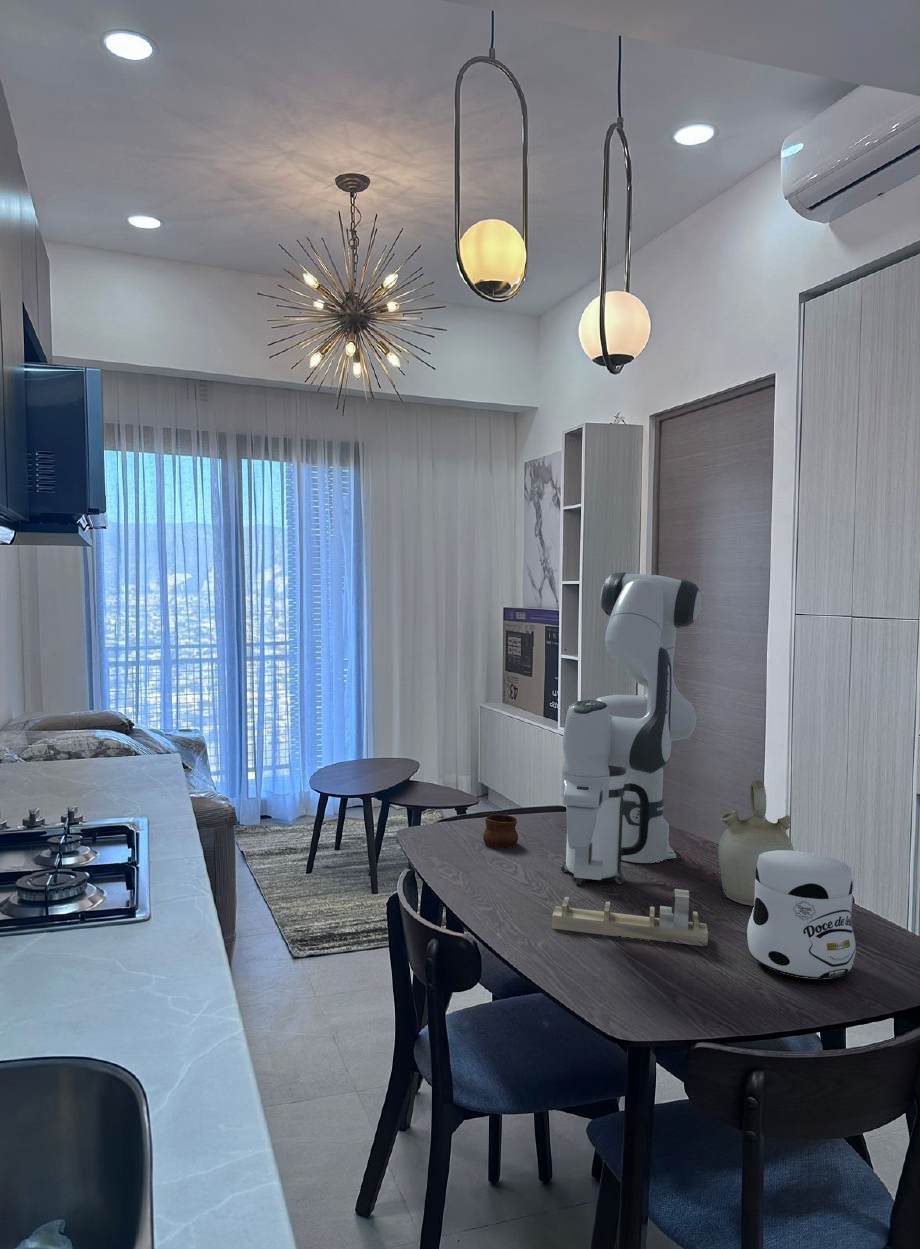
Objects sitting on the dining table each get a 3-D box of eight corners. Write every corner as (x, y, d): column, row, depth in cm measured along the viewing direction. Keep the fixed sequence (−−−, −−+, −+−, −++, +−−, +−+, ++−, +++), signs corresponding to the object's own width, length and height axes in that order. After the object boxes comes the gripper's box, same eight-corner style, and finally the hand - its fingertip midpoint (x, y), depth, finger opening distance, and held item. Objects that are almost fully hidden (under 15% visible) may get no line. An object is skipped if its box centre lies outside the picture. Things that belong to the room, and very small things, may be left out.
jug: (709, 902, 180) (714, 782, 179) (723, 881, 193) (729, 770, 193) (787, 917, 173) (793, 792, 172) (796, 894, 186) (802, 779, 185)
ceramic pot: (457, 835, 223) (459, 808, 223) (523, 834, 227) (525, 808, 227) (474, 858, 206) (476, 828, 205) (545, 856, 210) (547, 828, 209)
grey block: (575, 870, 165) (577, 839, 165) (602, 873, 164) (603, 842, 164) (574, 877, 161) (575, 845, 161) (601, 880, 160) (602, 847, 160)
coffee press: (611, 895, 182) (617, 752, 181) (546, 877, 191) (551, 742, 190) (647, 875, 195) (653, 743, 194) (584, 860, 205) (589, 734, 204)
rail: (555, 918, 167) (556, 875, 167) (705, 936, 161) (708, 891, 160) (551, 928, 162) (553, 883, 162) (707, 947, 156) (709, 900, 156)
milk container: (848, 999, 137) (854, 886, 137) (736, 972, 146) (741, 866, 145) (858, 961, 152) (863, 859, 152) (756, 938, 161) (760, 842, 160)
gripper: (573, 776, 173) (570, 844, 174) (562, 797, 153) (559, 875, 154) (605, 778, 172) (602, 847, 172) (598, 800, 152) (595, 879, 152)
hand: (582, 861), depth 163 cm, fingers closed on grey block, 4 cm apart
